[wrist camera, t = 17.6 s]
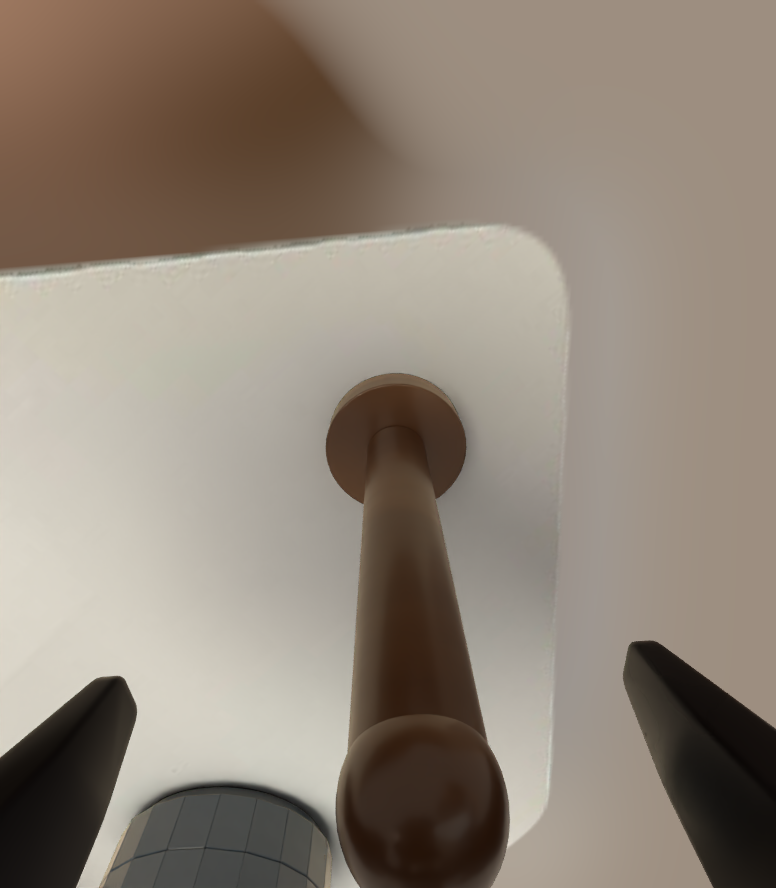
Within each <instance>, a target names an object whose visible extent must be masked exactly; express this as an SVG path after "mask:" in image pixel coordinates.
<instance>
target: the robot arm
mask: <svg viewBox="0 0 776 888" xmlns="http://www.w3.org/2000/svg"><path fill="white" fill-rule="evenodd" d="M623 681H624V685H625V689H626V691H627V694H628V697H629V699H630V702H631V704H632V707H633V710H634V712H635V714H636V717H637V720H638V722H639V725H640V727H641V730H642V732H643V735H644V738H645V741H646V743H647V746H648V748H649V751H650V753H651V756H652V759H653V761H654V763H655V766H656V769H657V771H658V774H659V776H660V779H661V781H662V783H663V786H664V788H665V790H666V792H667V794H668V797H669V799H670V801H671V803H672V805H673V807H674V809H675V811H676V813H677V815H678V817H679V819H680V821H681V823H682V825H683V827H684V829H685V831H686V833H687V835H688V837H689V839H690V841H691V843H692V845H693V847H694V850H695V851H696V854H697V856H698V858H699V860H700V862H701V864H702V866H703V868H704V870H705V872H706V874H707V876H708V878H709V880H710V882H711V884H712V886H713V887H714V888H776V729H775V728H774V727H772V726H771V725H770V724H768V723H767V722H766V721H764V720H763V719H761V718H760V717H759V716H757V715H756V714H755V713H753V712H752V711H751V710H749V709H748V708H747V707H745V706H744V705H743V704H741V703H740V702H738V701H737V700H736V699H734V698H733V697H732V696H730V695H729V694H728V693H726V692H725V691H723V690H722V689H721V688H719V687H718V686H717V685H715V684H714V683H713V682H711V681H710V680H709V679H707V678H706V677H704V676H703V675H702V674H700V673H699V672H697V671H696V670H695V669H694V668H692V667H691V666H689V665H688V664H687V663H685V662H684V661H683V660H681V659H680V658H679V657H677V656H676V655H675V654H673V653H672V652H671V651H669V650H668V649H666V648H665V647H664V646H662V645H661V644H659V643H658V642H655V641H636V642H632V643H631V644H630V645H629V647H628V651H627V656H626V661H625V666H624V671H623ZM136 717H137V707H136V703H135V701H134V699H133V696H132V694H131V692H130V690H129V688H128V685H127V683H126V681H125V679H124V678H122V677H121V676H109V677H100V678H97V679H95V680H94V681H92V682H91V683H90V684H88V685H87V686H86V687H85V688H84V689H82V690H81V691H80V692H79V693H78V694H76V695H75V696H74V697H73V698H72V699H70V700H69V701H68V702H67V703H66V704H64V705H63V706H62V707H61V708H59V709H58V710H57V711H56V712H55V713H53V714H52V715H51V716H50V717H49V718H47V719H46V720H45V721H44V722H43V723H41V724H40V725H39V726H38V727H37V728H35V729H34V730H33V731H32V732H31V733H29V734H28V735H27V736H26V737H25V738H23V739H22V740H21V741H20V742H19V743H17V744H16V745H15V746H14V747H13V748H11V749H10V750H9V751H8V752H7V753H5V754H4V755H3V756H2V757H1V758H0V888H76V886H77V883H78V881H79V879H80V876H81V874H82V871H83V869H84V867H85V864H86V862H87V859H88V857H89V854H90V852H91V850H92V847H93V845H94V842H95V840H96V838H97V835H98V833H99V830H100V827H101V825H102V822H103V820H104V817H105V814H106V811H107V808H108V806H109V803H110V800H111V796H112V793H113V790H114V787H115V784H116V781H117V778H118V775H119V771H120V768H121V765H122V762H123V759H124V756H125V753H126V750H127V746H128V743H129V740H130V737H131V734H132V731H133V728H134V725H135V721H136Z"/></svg>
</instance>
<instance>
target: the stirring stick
mask: <svg viewBox="0 0 776 888" xmlns="http://www.w3.org/2000/svg"><path fill="white" fill-rule="evenodd" d="M465 456H466V437H465V432H464V429H463V426H462V423H461V421H460V419H459V416H458V414H457V412H456V410H455V408H454V406H453V404H452V402H451V401H450V400H449V398H448V397H447V396H446V395H445V394H444V393H443V392H442V391H441V390H440V389H439V388H438V387H436V386H435V385H434V384H432V383H430V382H428V381H427V380H424V379H422V378H419V377H416V376H413V375H408V374H384V375H379V376H375V377H372V378H370V379H367V380H365V381H363V382H361V383H360V384H358V385H356V386H355V387H354V388H352V389H351V390H350V391H349V392H348V393H347V394H346V395H345V396H344V397H343V398H342V400H341V401H340V402H339V404H338V406H337V407H336V409H335V411H334V414H333V416H332V420H331V423H330V427H329V430H328V434H327V439H326V457H327V462H328V465H329V468H330V471H331V473H332V475H333V477H334V479H335V480H336V481H337V483H338V484H339V486H340V487H341V488H342V489H343V490H344V491H345V492H346V493H347V494H348V495H350V496H351V497H352V498H354V499H355V500H357V501H358V502H360V503H362V504H364V509H363V525H362V540H361V555H360V570H359V586H358V601H357V616H356V631H355V646H354V662H353V677H352V692H351V707H350V723H349V738H348V753H347V755H346V758H345V760H344V763H343V766H342V768H341V772H340V776H339V780H338V787H337V794H336V823H337V832H338V837H339V841H340V845H341V849H342V852H343V855H344V858H345V861H346V863H347V865H348V867H349V869H350V871H351V873H352V875H353V877H354V879H355V881H356V882H357V883H358V885H359V886H360V888H490V887H491V886H492V885H493V883H494V881H495V878H496V876H497V875H498V873H499V870H500V868H501V865H502V862H503V859H504V856H505V852H506V848H507V842H508V837H509V824H510V817H509V801H508V795H507V789H506V785H505V782H504V778H503V775H502V771H501V769H500V767H499V764H498V762H497V760H496V757H495V755H494V753H493V752H492V750H491V748H490V747H489V745H488V742H487V737H486V732H485V728H484V723H483V718H482V714H481V709H480V704H479V700H478V695H477V690H476V685H475V681H474V676H473V671H472V667H471V662H470V657H469V653H468V648H467V643H466V639H465V634H464V629H463V624H462V620H461V615H460V610H459V606H458V601H457V596H456V592H455V587H454V582H453V578H452V573H451V568H450V564H449V559H448V554H447V549H446V545H445V540H444V535H443V531H442V526H441V521H440V517H439V512H438V507H437V503H436V499H437V498H438V497H440V496H441V495H442V494H443V493H445V492H446V491H447V490H448V489H449V488H450V487H451V486H452V484H453V483H454V481H455V480H456V479H457V477H458V475H459V473H460V472H461V469H462V466H463V464H464V460H465Z"/></svg>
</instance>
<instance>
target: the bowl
mask: <svg viewBox="0 0 776 888" xmlns="http://www.w3.org/2000/svg"><path fill="white" fill-rule="evenodd" d="M331 868H332V856H331V852H330V847H329V843H328V840H327V838H326V837H325V836H324V835H323V834H322V833H321V831H320V829H319V827H318V826H317V824H316V823H315V822H314V820H313V819H312V818H311V817H310V816H309V815H308V814H306V813H305V812H304V811H303V810H301V809H300V808H298V807H297V806H295V805H294V804H292V803H290V802H288V801H286V800H283V799H281V798H278V797H276V796H273V795H270V794H267V793H263V792H259V791H254V790H250V789H243V788H233V787H207V788H197V789H192V790H187V791H183V792H179V793H176V794H173V795H171V796H168V797H166V798H164V799H162V800H160V801H158V802H157V803H155V804H154V805H153V806H151V807H150V808H148V809H147V810H145V811H144V812H142V813H140V814H139V815H137V816H135V817H134V818H133V819H132V820H131V822H130V823H129V825H128V826H127V828H126V829H125V831H124V832H123V834H122V836H121V838H120V840H119V842H118V845H117V847H116V849H115V852H114V854H113V856H112V858H111V861H110V863H109V865H108V868H107V870H106V872H105V874H104V877H103V879H102V881H101V884H100V886H99V888H330V881H331Z"/></svg>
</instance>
